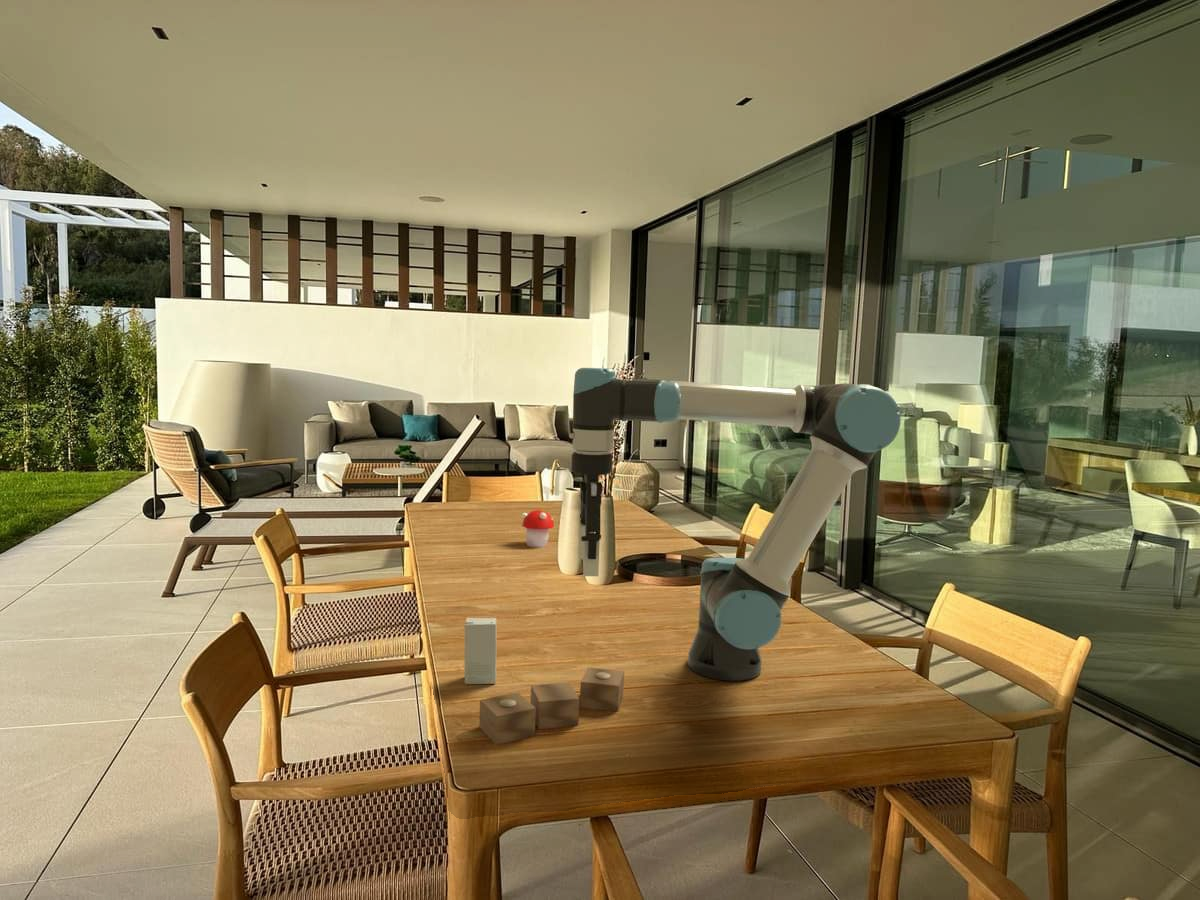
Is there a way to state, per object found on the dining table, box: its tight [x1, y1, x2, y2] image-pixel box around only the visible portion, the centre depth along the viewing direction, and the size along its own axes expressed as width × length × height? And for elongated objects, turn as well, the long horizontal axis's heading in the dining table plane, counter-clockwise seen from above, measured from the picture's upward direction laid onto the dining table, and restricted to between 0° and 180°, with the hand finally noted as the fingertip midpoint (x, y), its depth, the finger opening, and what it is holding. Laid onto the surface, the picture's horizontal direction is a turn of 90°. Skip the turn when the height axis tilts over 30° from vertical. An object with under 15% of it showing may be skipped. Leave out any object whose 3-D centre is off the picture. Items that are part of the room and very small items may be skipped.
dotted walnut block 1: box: [478, 691, 536, 745], centre depth 134 cm, size 7×7×5 cm
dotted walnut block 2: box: [579, 667, 625, 712], centre depth 148 cm, size 7×7×5 cm
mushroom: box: [521, 509, 555, 548], centre depth 268 cm, size 11×11×12 cm
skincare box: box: [464, 617, 497, 685], centre depth 154 cm, size 6×4×12 cm
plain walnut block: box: [530, 682, 580, 730], centre depth 140 cm, size 7×7×5 cm
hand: (588, 566), depth 150 cm, fingers open, 12 cm apart
